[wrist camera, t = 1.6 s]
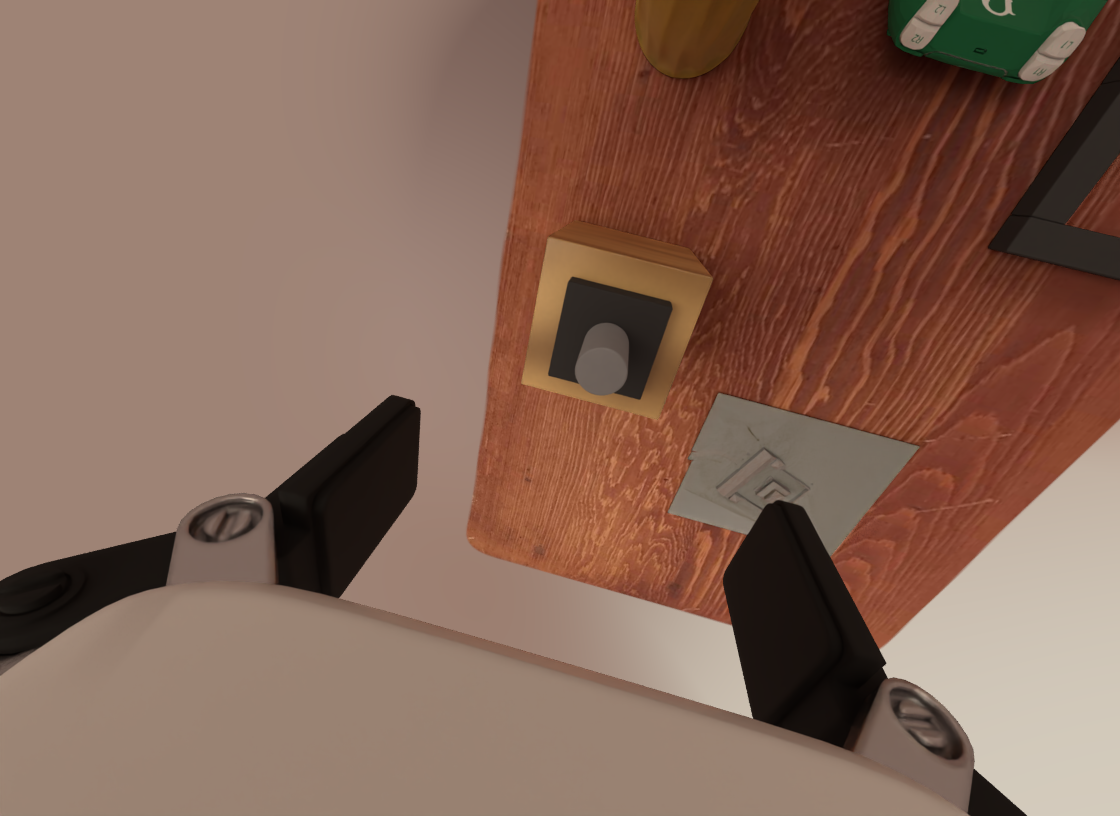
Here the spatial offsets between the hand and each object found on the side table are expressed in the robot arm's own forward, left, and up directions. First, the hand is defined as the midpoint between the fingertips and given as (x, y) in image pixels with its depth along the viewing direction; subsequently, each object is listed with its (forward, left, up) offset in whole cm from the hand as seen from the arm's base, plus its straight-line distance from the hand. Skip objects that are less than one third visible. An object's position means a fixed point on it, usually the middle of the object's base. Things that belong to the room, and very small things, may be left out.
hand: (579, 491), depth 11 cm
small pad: (0, 0, -12) cm, 12 cm away
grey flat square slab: (+14, +13, -22) cm, 29 cm away
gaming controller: (-18, +13, -22) cm, 31 cm away
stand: (0, 0, -22) cm, 22 cm away
